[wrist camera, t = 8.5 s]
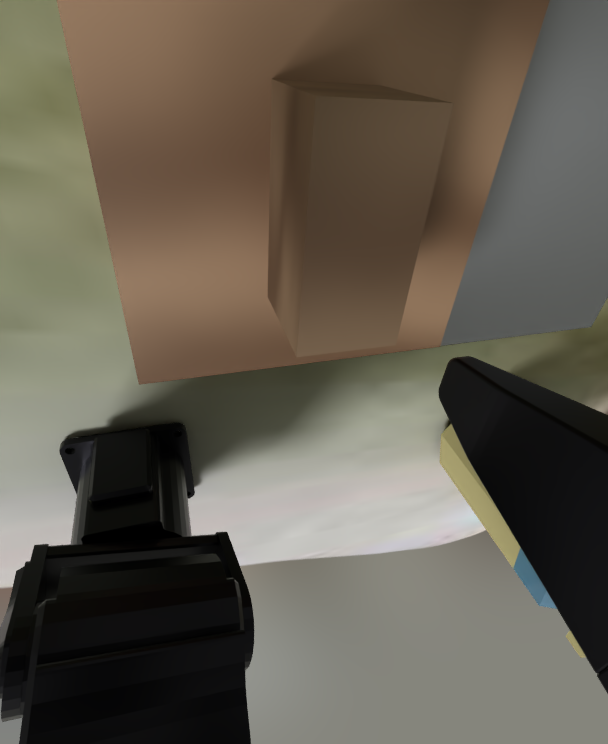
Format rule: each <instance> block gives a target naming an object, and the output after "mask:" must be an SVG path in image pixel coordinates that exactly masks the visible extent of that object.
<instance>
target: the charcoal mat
mask: <svg viewBox="0 0 608 744" xmlns="http://www.w3.org/2000/svg"><path fill="white" fill-rule="evenodd" d="M607 298H608V0H550V1H549V5H548V8H547V11H546V14H545V17H544V20H543V23H542V27H541V30H540V33H539V36H538V39H537V42H536V46H535V49H534V52H533V55H532V58H531V61H530V64H529V68H528V71H527V74H526V77H525V80H524V83H523V86H522V90H521V93H520V96H519V99H518V102H517V105H516V109H515V112H514V115H513V118H512V121H511V124H510V127H509V131H508V134H507V137H506V140H505V143H504V146H503V150H502V153H501V156H500V159H499V162H498V165H497V168H496V172H495V175H494V178H493V181H492V184H491V187H490V191H489V194H488V197H487V200H486V203H485V206H484V209H483V213H482V216H481V219H480V222H479V225H478V228H477V232H476V235H475V238H474V241H473V244H472V247H471V250H470V254H469V257H468V260H467V263H466V266H465V269H464V273H463V276H462V279H461V282H460V285H459V288H458V291H457V295H456V298H455V301H454V304H453V307H452V310H451V314H450V317H449V320H448V323H447V326H446V329H445V332H444V336H443V339H442V342H441V345H440V346H443V345H451V344H459V343H467V342H475V341H483V340H491V339H499V338H507V337H515V336H523V335H531V334H539V333H547V332H555V331H563V330H571V329H579V328H587V327H591V326H592V324H593V323H594V321H595V319H596V317H597V315H598V314H599V312H600V310H601V308H602V306H603V305H604V303H605V301H606V299H607Z"/></svg>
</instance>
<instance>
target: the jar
mask: <svg viewBox="0 0 608 744" xmlns="http://www.w3.org/2000/svg"><path fill="white" fill-rule="evenodd" d="M440 464H441V465H442V467H443V468H444V469H445V471H446V472H447V474H448V475H449V477H450V478H451V480H452V481H453V482H454V484H455V485H456V487H457V488H458V490H459V491H460V493H461V494H462V495H463V497H464V498H465V500H466V501H467V503H468V504H469V505H470V507H471V508H472V510H473V511H474V513H475V514H476V516H477V517H478V518H479V520H480V521H481V523H482V524H483V526H484V527H485V529H486V530H487V531H488V533H489V534H490V536H491V537H492V539H493V540H494V541H495V543H496V544H497V546H498V547H499V549H500V550H501V552H502V553H503V554H504V556H505V557H506V558H507V560H508V562H509V563H510V564H511V566H512V567H513V569H514V570H515V572H516V573H517V575H518V576H519V578H520V579H521V580H522V582H523V583H524V585H525V586H526V588H527V589H528V590H529V592H530V593H531V595H532V596H533V598H534V599H535V600H536V602H537V603H538V605H539V606H544V607H550V608H556V606H555V604H554V603H553V601H552V599H551V598H550V596H549V594H548V593H547V591H546V589H545V587H544V586H543V584H542V582H541V581H540V579H539V577H538V576H537V574H536V572H535V571H534V569H533V567H532V566H531V564H530V562H529V561H528V559H527V557H526V556H525V554H524V552H523V551H522V549H521V547H520V546H519V544H518V542H517V541H516V539H515V537H514V536H513V534H512V532H511V531H510V529H509V527H508V526H507V524H506V522H505V521H504V519H503V517H502V516H501V514H500V512H499V511H498V509H497V507H496V506H495V504H494V502H493V501H492V499H491V497H490V496H489V494H488V492H487V491H486V489H485V487H484V486H483V484H482V482H481V481H480V479H479V477H478V476H477V474H476V472H475V471H474V469H473V467H472V465H471V464H470V462H469V460H468V458H467V456H466V454H465V452H464V450H463V448H462V446H461V444H460V442H459V439H458V437H457V435H456V433H455V431H454V429H453V427H452V425H451V424H450V425H449V426H448V427H447V428H446V430H445V431H444V432H443V433H442V434H441V448H440ZM556 609H557V608H556ZM566 638H567V639H568V640H569V642H570V643H571V644H572V646H573V647H574V649H575V650H576V652H577V653H578V654H579V656H580V657H581V658H583V657H586V656H585V654H584V653H583V651H582V649H581V648H580V646H579V644H578V643H577V641H576V639H575V638H574V636H573V634H572V633H571V631H569V632H568V634H567V635H566Z"/></svg>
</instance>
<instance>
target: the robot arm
mask: <svg viewBox="0 0 608 744" xmlns="http://www.w3.org/2000/svg"><path fill="white" fill-rule="evenodd" d="M439 398H440V401H441V403H442V405H443V407H444V410H445V412H446V414H447V416H448V418H449V420H450V422H451V425H452V427H453V429H454V431H455V433H456V435H457V437H458V439H459V442H460V444H461V446H462V448H463V450H464V452H465V454H466V456H467V458H468V460H469V462H470V464H471V465H472V467H473V469H474V471H475V472H476V474H477V476H478V477H479V479H480V481H481V482H482V484H483V486H484V487H485V489H486V491H487V492H488V494H489V496H490V497H491V499H492V501H493V502H494V504H495V506H496V507H497V509H498V511H499V512H500V514H501V516H502V517H503V519H504V521H505V522H506V524H507V526H508V527H509V529H510V531H511V532H512V534H513V536H514V537H515V539H516V541H517V542H518V544H519V546H520V547H521V549H522V551H523V552H524V554H525V556H526V557H527V559H528V561H529V562H530V564H531V566H532V567H533V569H534V571H535V572H536V574H537V576H538V577H539V579H540V581H541V582H542V584H543V586H544V587H545V589H546V591H547V593H548V594H549V596H550V598H551V599H552V601H553V603H554V604H555V606H556V608H557V609H558V611H559V612H560V614H561V616H562V617H563V619H564V621H565V623H566V624H567V626H568V627H569V629H570V631H571V633H572V634H573V636H574V638H575V639H576V641H577V643H578V644H579V646H580V648H581V649H582V651H583V653H584V654H585V656H586V657H587V659H588V661H589V663H590V664H591V666H592V668H593V669H594V671H595V672H596V673H597V677H598V678H599V680H600V682H601V683H602V685H603V687H604V688H605V690H606V692H607V693H608V415H606V414H604V413H602V412H599V411H597V410H595V409H592V408H590V407H588V406H585V405H583V404H581V403H578V402H576V401H574V400H571V399H569V398H567V397H564V396H562V395H560V394H557V393H555V392H553V391H550V390H548V389H546V388H543V387H541V386H539V385H536V384H534V383H532V382H529V381H527V380H525V379H522V378H520V377H518V376H515V375H513V374H511V373H508V372H506V371H504V370H501V369H499V368H497V367H494V366H492V365H490V364H487V363H485V362H483V361H480V360H478V359H476V358H473V357H469V356H466V357H457V358H453V359H451V360H450V361H449V363H448V365H447V367H446V370H445V373H444V376H443V378H442V381H441V384H440V387H439ZM175 431H180V432H175ZM68 448H73V449H68ZM60 455H61V457H62V460H63V462H64V464H65V467H66V469H67V472H68V474H69V477H70V479H71V481H72V484H73V486H74V489H75V491H76V494H77V500H76V508H75V515H74V523H73V531H72V539H71V545H57V546H49V544H42V545H35V546H34V549H33V553H32V557H31V561H30V562H26V563H25V566H24V567H23V568H21V569H19V570H17V571H16V575H15V580H14V584H13V589H12V593H11V598H10V602H9V605H8V609H7V612H6V615H5V617H4V620H3V622H2V625H1V627H0V699H1V698H2V708H1V719H2V721H3V722H4V721H8V720H13V719H18V718H22V717H23V718H22V726H21V734H20V741H19V744H251V739H250V729H249V719H248V711H247V699H246V687H245V670H246V669H247V668H248V667H249V665H250V662H251V658H252V654H253V646H254V618H253V610H252V603H251V598H250V594H249V591H248V587H247V585H246V582H245V579H244V576H243V574H242V571H241V568H240V566H239V563H238V560H237V558H236V555H235V552H234V549H233V547H232V544H231V541H230V539H229V536H228V533H227V532H216V534H213V535H199V536H191V526H190V517H189V508H188V498H191V497H192V496H193V495H194V493H195V491H194V484H193V476H192V469H191V462H190V455H189V448H188V440H187V433H186V427H185V425H183V424H182V423H172V424H165V425H158V426H152V427H145V428H139V429H132V430H125V431H119V432H112V433H106V434H99V435H93V436H86V437H79V438H73V439H67V440H64V441H63V442H62V443H61V445H60Z"/></svg>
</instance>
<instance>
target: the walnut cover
mask: <svg viewBox="0 0 608 744" xmlns="http://www.w3.org/2000/svg"><path fill="white" fill-rule="evenodd" d="M549 1H550V0H57V3H58V8H59V13H60V17H61V22H62V27H63V31H64V36H65V41H66V46H67V50H68V55H69V60H70V64H71V69H72V74H73V78H74V83H75V88H76V92H77V97H78V102H79V106H80V111H81V116H82V120H83V125H84V130H85V134H86V139H87V144H88V148H89V153H90V158H91V162H92V167H93V172H94V176H95V181H96V186H97V190H98V195H99V200H100V204H101V209H102V214H103V218H104V223H105V228H106V232H107V237H108V242H109V247H110V251H111V256H112V261H113V265H114V270H115V275H116V279H117V284H118V289H119V293H120V298H121V303H122V307H123V312H124V317H125V321H126V326H127V331H128V335H129V340H130V345H131V349H132V354H133V359H134V363H135V368H136V373H137V377H138V382H139V384H147V383H155V382H163V381H171V380H179V379H187V378H195V377H203V376H211V375H219V374H227V373H234V372H242V371H250V370H258V369H266V368H274V367H282V366H290V365H298V364H306V363H314V362H322V361H330V360H338V359H346V358H354V357H362V356H369V355H377V354H385V353H393V352H401V351H409V350H417V349H425V348H433V347H440V345H441V342H442V339H443V336H444V332H445V329H446V326H447V323H448V320H449V317H450V314H451V310H452V307H453V304H454V301H455V298H456V295H457V291H458V288H459V285H460V282H461V279H462V276H463V273H464V269H465V266H466V263H467V260H468V257H469V254H470V250H471V247H472V244H473V241H474V238H475V235H476V232H477V228H478V225H479V222H480V219H481V216H482V213H483V209H484V206H485V203H486V200H487V197H488V194H489V191H490V187H491V184H492V181H493V178H494V175H495V172H496V168H497V165H498V162H499V159H500V156H501V153H502V150H503V146H504V143H505V140H506V137H507V134H508V131H509V127H510V124H511V121H512V118H513V115H514V112H515V109H516V105H517V102H518V99H519V96H520V93H521V90H522V86H523V83H524V80H525V77H526V74H527V71H528V68H529V64H530V61H531V58H532V55H533V52H534V49H535V46H536V42H537V39H538V36H539V33H540V30H541V27H542V23H543V20H544V17H545V14H546V11H547V8H548V5H549Z"/></svg>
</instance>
